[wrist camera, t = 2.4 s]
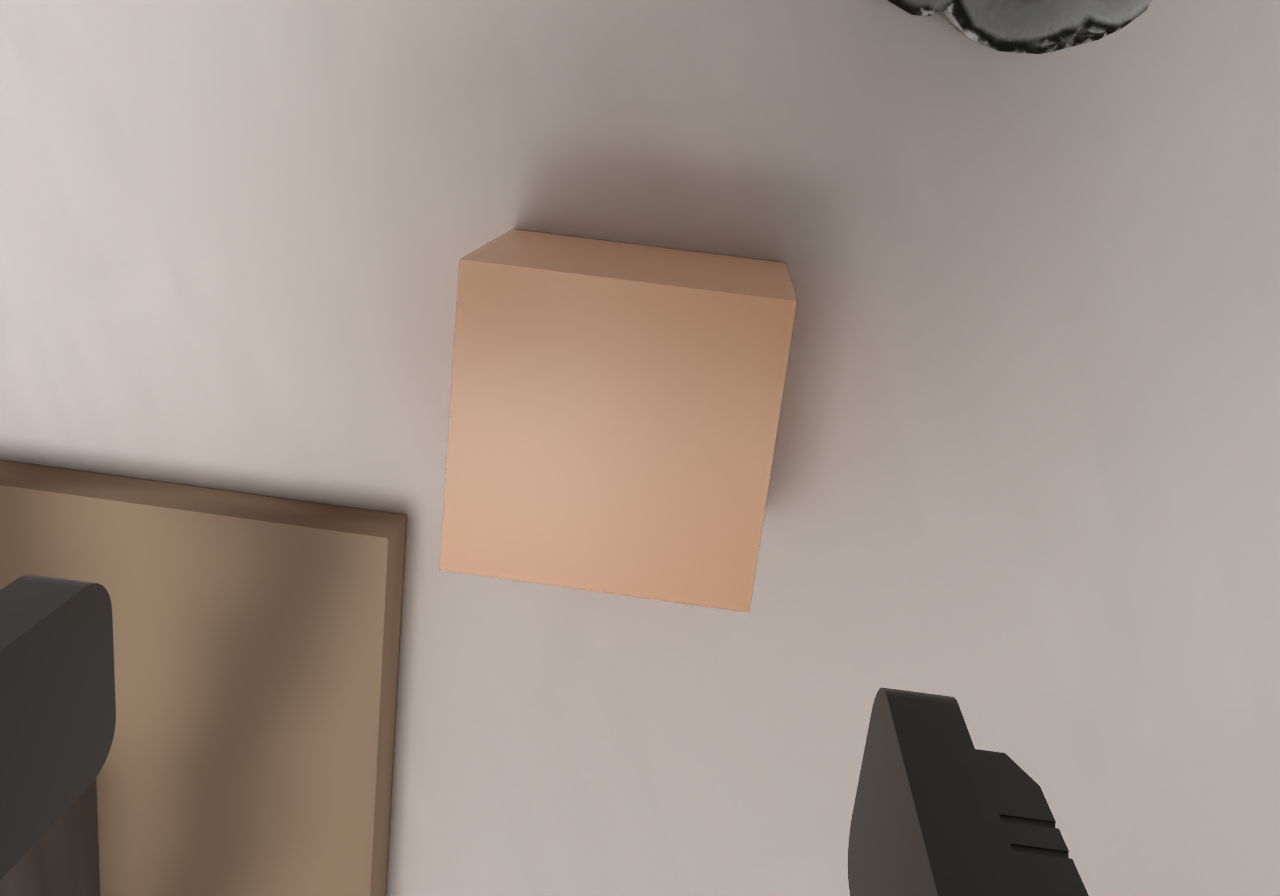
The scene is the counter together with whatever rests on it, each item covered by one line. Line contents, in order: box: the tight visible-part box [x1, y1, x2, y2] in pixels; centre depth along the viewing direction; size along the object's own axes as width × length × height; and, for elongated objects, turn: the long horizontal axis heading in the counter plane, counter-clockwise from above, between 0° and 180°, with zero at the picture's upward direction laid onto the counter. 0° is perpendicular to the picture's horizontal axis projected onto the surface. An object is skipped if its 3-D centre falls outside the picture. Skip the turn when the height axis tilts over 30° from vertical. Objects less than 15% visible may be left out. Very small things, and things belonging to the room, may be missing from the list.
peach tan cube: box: [439, 229, 797, 612], centre depth 24 cm, size 6×6×5 cm
